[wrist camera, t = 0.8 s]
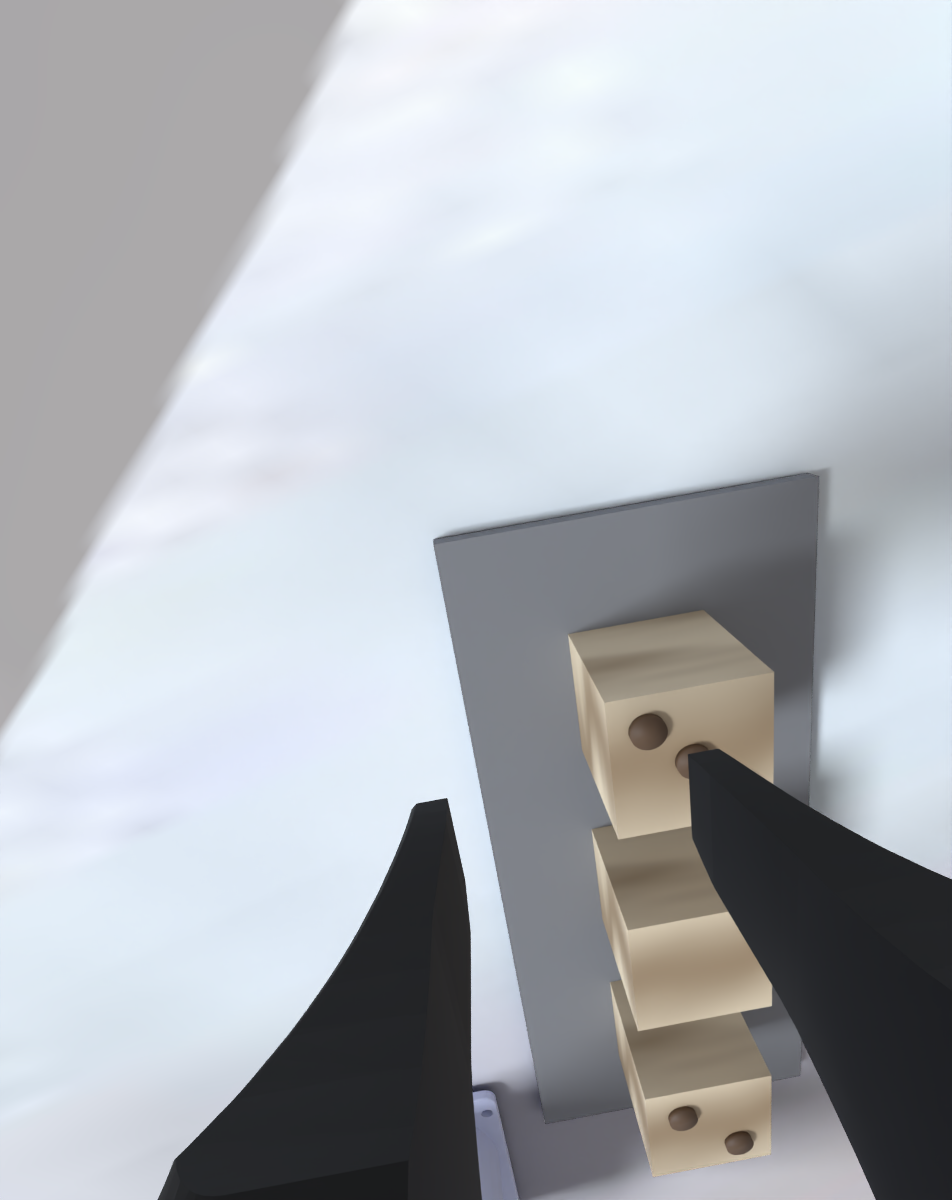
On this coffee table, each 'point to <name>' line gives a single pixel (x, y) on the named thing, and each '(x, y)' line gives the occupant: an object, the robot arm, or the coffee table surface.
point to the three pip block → (666, 713)
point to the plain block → (672, 931)
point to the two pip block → (695, 1089)
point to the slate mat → (552, 736)
